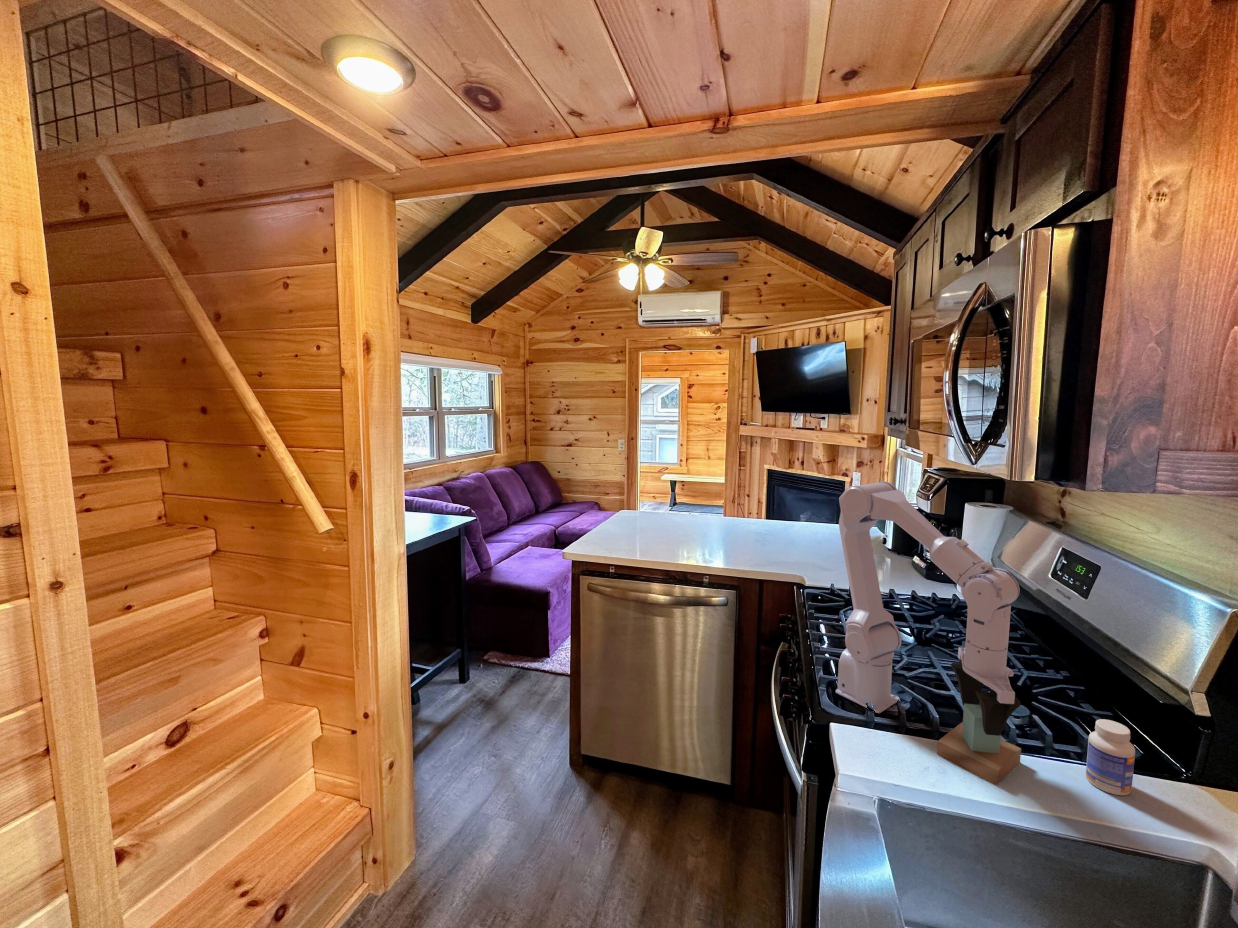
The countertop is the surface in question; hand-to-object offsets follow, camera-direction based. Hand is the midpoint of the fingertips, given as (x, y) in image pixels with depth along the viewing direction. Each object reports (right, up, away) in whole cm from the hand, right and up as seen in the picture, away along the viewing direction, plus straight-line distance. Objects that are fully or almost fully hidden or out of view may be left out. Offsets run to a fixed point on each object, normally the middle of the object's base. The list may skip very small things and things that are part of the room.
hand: (980, 719), depth 90 cm
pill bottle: (+16, -8, -6) cm, 19 cm away
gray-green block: (0, -5, 0) cm, 5 cm away
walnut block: (0, -7, +1) cm, 8 cm away
